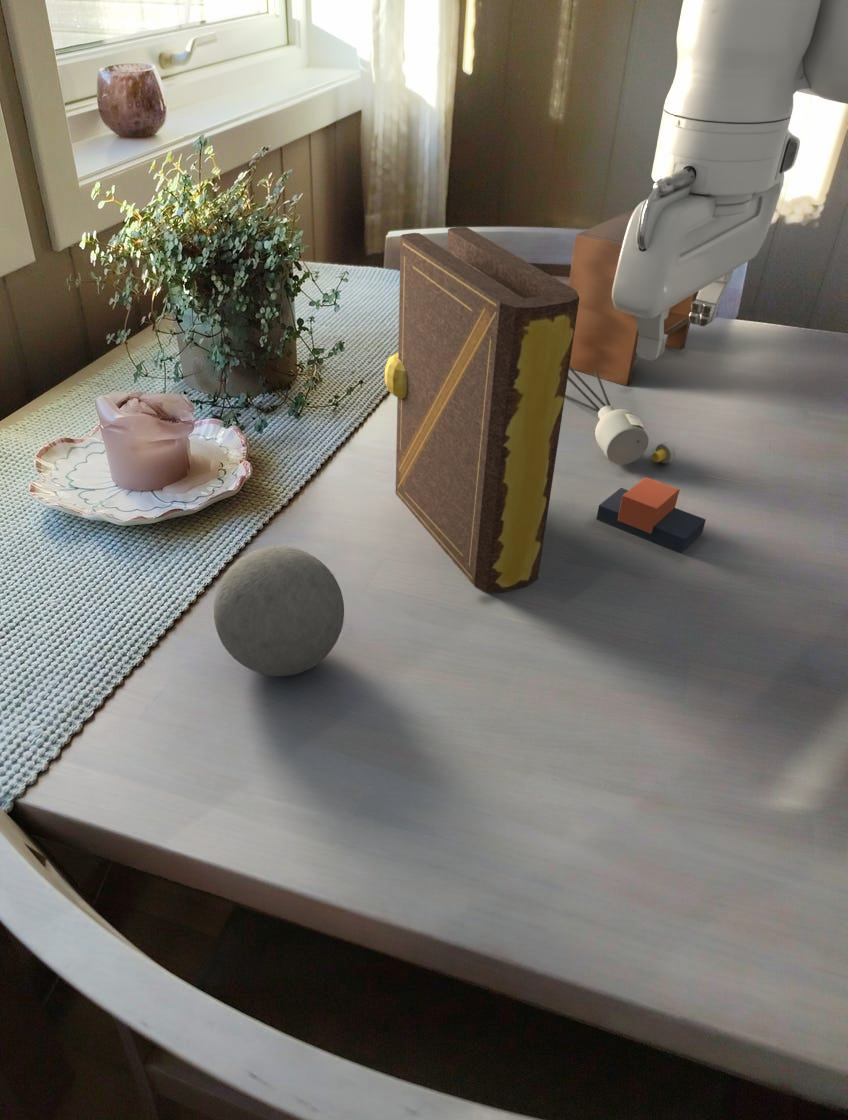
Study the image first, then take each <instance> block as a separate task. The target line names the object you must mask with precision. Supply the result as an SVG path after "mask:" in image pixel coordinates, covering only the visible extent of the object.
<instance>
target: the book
mask: <svg viewBox="0 0 848 1120" xmlns="http://www.w3.org/2000/svg"><path fill="white" fill-rule="evenodd" d="M399 243H400V244H399V245H400V246H399V248H400V249H399V293H398V294H399V297H398V298H399V301H398V347H397V348H398V349H397V350H398V351H397V352H395V353H394V354H393V355H391V356H390V357H389V358H388V359H387V361H386V364H385V368H384V383H385V387H386V389H387V391H388V392H389V393H390V394H391V395H393V396H394V397H396V398H397V399H396V401H397V402H396V403H397V404H396V448H395V449H396V451H395V452H396V454H395V456H396V459H395V495H396V496H397V497H398V499H400V500H401V502H402V504H404V505H405V506H406V508H407V509H408V510H409V511H410V513H412V514H413V516H414V517H415V518H416V519H417V520H418V522H419V523H420V524H421V525H422V526H423V528H424V529H425V530H426V532H428V533H429V535H430V536H431V537H432V538H433V539H434V541H435V542H436V543H437V544H438V545H439V547H440V548H441V549H442V550H443V551H444V553H446V555H447V556H448V557H449V558H450V559H451V561H452V562H453V563H454V565H456V566H457V568H458V569H459V570H460V571H461V572H462V573H463V574H464V576H465V577H466V578H467V579H468V580H469V582H470V583H471V584H472V585H473V587H475V588H478V590H479V589H480V590H481V591H483V592H485V593H505V592H509V591H512V590H516V589H521V588H524V587H528V586H530V585H531V584H532V583H534V582H535V581H537V580H538V579H539V575H540V568H541V560H542V553H543V547H544V541H545V534H546V527H547V521H548V514H549V507H550V501H551V494H552V488H553V487H552V486H553V482H554V481H553V480H554V473H555V466H556V460H557V459H556V458H557V452H558V446H559V438H560V432H561V427H562V426H561V425H562V420H563V419H562V418H563V412H564V407H565V406H564V405H565V400H566V399H565V398H566V397H565V395H566V392H567V385H568V377H569V371H570V369H569V366H570V359H571V352H572V345H573V339H574V332H575V325H576V318H577V312H578V305H579V298H580V297H579V295H578V293H577V291H576V290H574V289H573V288H571V287H569V284H566V283H564V282H563V281H561V280H559V279H557V278H555V277H554V276H551V275H550V274H548V273H547V272H545V271H544V270H542V269H541V268H539V267H537V266H535V265H533V264H531V263H530V262H528V261H526V260H524V259H523V258H521V257H520V256H517V255H516V254H514V253H513V252H510V251H509V250H508V249H505V248H504V247H502V246H501V245H499V244H497V243H496V242H493V241H491V240H490V239H488V238H487V237H484V235H481V234H480V233H478V232H476V231H474V230H472V229H471V228H469V227H467V226H457V227H450V228H448V229H447V244H446V249H445V248H443V247H441V246H440V245H439V244H437V243H435V242H434V241H433V240H431V239H429V238H428V237H426V236H424V234H421V233H420V232H409V233H403V234H401V235H400V242H399Z"/></svg>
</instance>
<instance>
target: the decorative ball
mask: <svg viewBox="0 0 848 1120" xmlns="http://www.w3.org/2000/svg"><path fill="white" fill-rule="evenodd" d="M344 602H345V601H344V598H343V593H342V590H341V587H340V585H339V583H338V580H337V579H336V577H335V575H334V574H333V573H332V571H331V570H330V569H329V568H328V566H327V565H325V564H324V563H323V561H321V560H320V559H319V558H317V557H316V556H314V555H313V554H311V553H309V552H308V551H305V550H303V549H299V548H296V547H293V546H288V545H287V546H286V545H270V546H266V547H261V548H258V549H256V550H253V551H250V552H248V553H247V554H245V555H243V556H242V557H240V558H239V559H238V560H236V561H234V563H233V564H232V565H231V566H230V567H229V569H228V570H227V571H226V573H225V574H224V575H223V577H222V578H221V580H220V582H219V585H218V587H217V589H216V592H215V595H214V600H213V620H214V621H213V622H214V627H215V629H216V633H217V637H218V638H219V640H220V642H221V644H222V646H223V647H224V649H225V650H226V651H227V652H228V654H229V655H230V656H231V657H232V658H233V659H234V660H235V661H236V662H237V663H239V664H241V665H242V666H243V667H244V668H246V669H249V670H250V671H253V672H256V673H259V674H262V675H265V676H273V677H285V676H287V677H288V676H293V675H297V674H300V673H303V672H305V671H308V670H310V669H311V668H313V667H314V666H316V665H318V664H319V663H320V662H322V661H323V660H324V659H325V658H326V657H327V656H328V654H329V653H330V652H331V651H332V650H333V648H334V647H335V645H336V643H337V642H338V640H339V637H340V635H341V632H342V629H343V626H344V619H345V603H344Z"/></svg>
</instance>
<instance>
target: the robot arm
mask: <svg viewBox="0 0 848 1120" xmlns="http://www.w3.org/2000/svg"><path fill="white" fill-rule="evenodd" d="M676 52H677V56H676V57H677V58H676V59H677V60H676V69H675V75H674V77H673V82H672V83H671V86H670V89H669V91H668V93H667V95H666V98H665V100H664V104H663V109H662V115H661V119H660V120H661V121H660V127H659V130H658V136H657V143H656V148H655V153H654V158H653V159H654V160H653V164H652V170H651V175H650V176H651V179H652V181H653V182H654V184H653V185H652V191H651V193H650V194H649V196H648V197H647V198H646V199H644V200H643V201H641V202H640V203H639V204H638V205H637V206H636V207H635V208H636V209H635V208H634V209H635V210H634V212H633V214H632V216H631V218H630V221H629V224H628V227H627V230H626V233H625V237H624V240H623V244H622V248H621V253H620V257H619V261H618V265H617V270H616V274H615V279H614V284H613V288H612V301H613V305H614V307H615V309H616V310H618V311H621V312H624V313H628V314H631V315H635V320H636V324H637V329H638V334H639V338H638V344H637V349H636V353H637V357H638V358H641V359H644V360H648V361H654V360H656V359H657V358H658V357H660V356H662V355H663V354H664V353H665V351H666V346H667V345H666V342H667V337H668V335H666V334H664V319H666V318H667V317H668V314H669V310H670V308H671V307H673V306H674V305H676V304H678V303H679V302H681V301H683V300H685V299H686V298H688V297H690V296H691V295H693V294H695V293H696V292H697V297H696V300H695V301H694V302H692V306H691V312H690V315H689V322H690V324H691V325H694V326H695V325H696V326H699V327H705V326H707V325H710V324H711V323H712V322H714V321H715V319H716V317H717V312H718V309H719V305H720V302H721V300H722V298H723V297H724V294H725V292H726V291H727V289H728V286H729V285H730V283H731V280H732V278H733V274H734V270H737V269H738V268H740V267H741V266H743V265H745V264H746V263H748V262H750V261H751V260H753V259H755V258H756V256H757V255H758V254H759V252H760V250H761V248H762V246H763V245H764V243H765V240H766V238H767V235H768V233H769V229H770V227H771V224H772V221H773V218H774V215H775V212H776V209H777V205H778V202H779V199H780V197H781V194H782V189H783V186H784V181H785V173H786V172H788V171H790V170H791V169H792V168H793V167H794V166H795V164H796V162H797V161H796V160H797V158H798V154H799V151H800V146H801V141H800V138H799V137H798V136H796V135H794V134H793V133H792V132H791V131H790V129H789V126H790V122H791V118H792V114H793V110H794V95H795V94H796V93H801V94H806V95H810V96H815V97H819V98H821V99H824V100H826V101H827V100H828V101H833V102H835V103H836V102H837V103H842V104H846V105H848V0H682V5H681V10H680V16H679V21H678V25H677V32H676Z"/></svg>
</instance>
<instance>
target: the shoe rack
mask: <svg viewBox="0 0 848 1120" xmlns="http://www.w3.org/2000/svg"><path fill="white" fill-rule="evenodd" d="M635 209H636V207H635V208H634V209H631V210H629V211H626V212H624V213H622V214H620V215H617V216H615V217H612V218H611V219H608V220H606V221H604V222H602V223H599V224H597V225H595V226H592V227H590V228H588V229H586V230H583V231H581V232H579V233H576V234H575V235H574V236H575V237H574V243H573V249H572V250H573V251H572V258H571V265H570V273H569V280H568V286H569V287H571V288H573V289H574V290H576V291H577V293H578V295H579V297H580V298H579V305H578V312H577V318H576V325H575V332H574V339H573V345H572V352H571V359H570V367H571V368H572V369H573V370H574V371H575V372H576V371H577V372H580V373H584V374H586V375H589V376H593V377H595V378H597V376H596V374H595V370H597V372H598V375H599V378H600V379H603V380H605V381H608V382H612V383H615V384H618V385H622V386H624V387H628V386H629V385H631V383H632V378H633V372H634V367H635V362H636V357H638V355H637V353H636V349H637V344H638V338H639V334H638V329H637V324H636V320H635V315H631V314H628V313H624V312H621V311H618V310H616V309H615V307H614V305H613V301H612V288H613V284H614V279H615V274H616V270H617V265H618V261H619V257H620V253H621V248H622V244H623V240H624V237H625V233H626V230H627V227H628V224H629V221H630V218H631V216H632V214H633V212H634V210H635ZM697 296H698V292H696V293H695V294H693V295H691V296H690V297H688V298H686V299H685V300H683V301H681V302H679V303H678V304H676V305H674V306H673V307H671V308H670V310H669V314H668V317H667V318H666V319H664V334H666V335H668V337H667V342H666V345H665V346H667V347H671V348H675V349H678V350H683V349H684V348H686V343H687V340H688V336H689V331H690V326H691V323H690V322H689V315H690V312H691V306H692V302H694V301H695V300H697Z"/></svg>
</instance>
